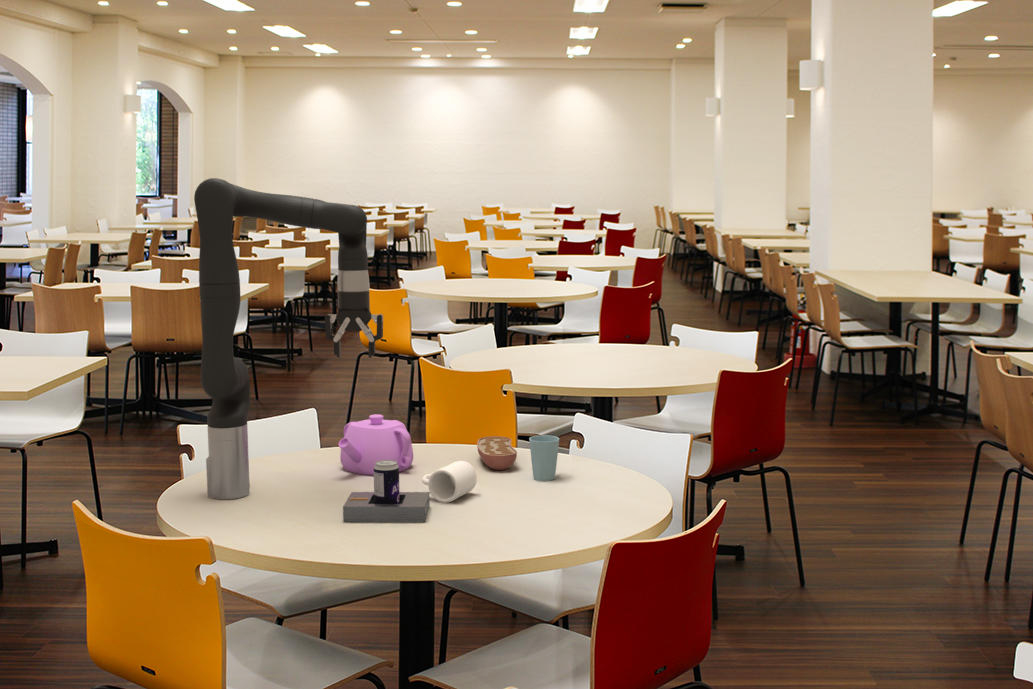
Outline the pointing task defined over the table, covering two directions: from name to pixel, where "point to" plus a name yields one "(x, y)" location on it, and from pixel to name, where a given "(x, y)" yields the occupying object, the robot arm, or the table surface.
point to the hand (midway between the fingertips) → (354, 357)
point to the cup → (544, 456)
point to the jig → (386, 508)
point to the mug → (451, 481)
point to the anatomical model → (496, 452)
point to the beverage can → (386, 482)
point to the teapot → (375, 445)
